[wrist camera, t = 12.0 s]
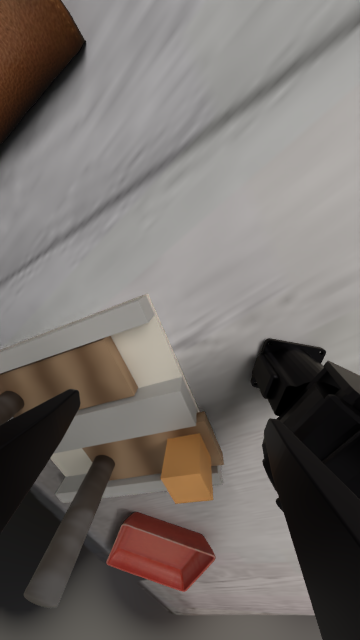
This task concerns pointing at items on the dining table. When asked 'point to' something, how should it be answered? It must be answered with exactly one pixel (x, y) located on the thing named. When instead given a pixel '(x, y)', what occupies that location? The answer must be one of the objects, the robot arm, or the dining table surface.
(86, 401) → the walnut strip
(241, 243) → the dining table surface
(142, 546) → the plant saucer
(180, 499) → the orange cube
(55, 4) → the sunglasses case
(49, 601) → the walnut strip
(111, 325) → the lane board
